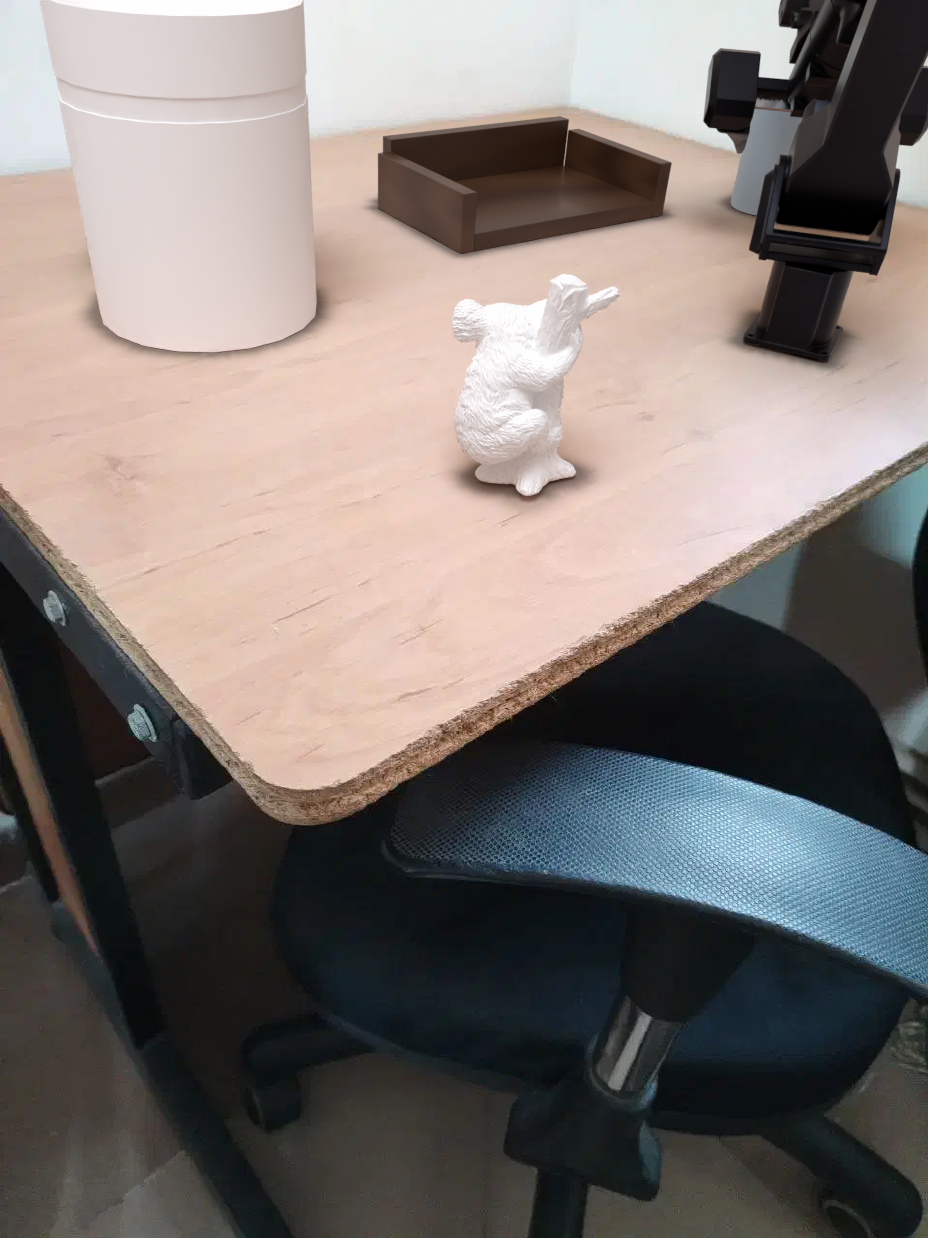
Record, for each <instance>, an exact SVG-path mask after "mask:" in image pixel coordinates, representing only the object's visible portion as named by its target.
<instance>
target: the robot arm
mask: <svg viewBox="0 0 928 1238" xmlns="http://www.w3.org/2000/svg"><path fill="white" fill-rule="evenodd" d="M777 13H778V27H779V28H787V29H792V30H797V31H796V36H795V38H794V41H793V43H792V46H791V48H790V50H789V58H788V64H791V65H793V68H792V70H791V71H790V74H789V77H788V79H787V78H775V77H766V76H765V77H764V76H760V68H761V59H762V58H761V57H762V54H761V52H760V51H759V50H746V49H736V48H723V47H720V48H719V49H718V50H717V51H716V52H714V54H713V55H712V57H711V59H710V63H709V64H708V65H709V66H708V70H707V79H706V81H707V82H706V91H705V99H704V110H703V117H702V118H703V119H702V122H703V123H704V124H705V126H706V127H707V128H708V129H716V131H717V132H718V133H720V134H724V135H725V134H726V135H727V136H728V137H729V138H730V140H731V141H732V142H733V146H734V148H735V152H736V154H739V155H741V154H742V152H743V151H744V149H745V146H746V143H747V140H748V136H749V133H750V123H751V121H752V118H753V114H754V109H760V110H771V111H783V112H790V117H800V118H802V121H801V123H800V124H799V125H798V128H797V130H796V133H795V136H794V139H793V141H792V144H791V147H790V150H789V153H788V155H781V154H780V155H779V157H778V160H777V164H774V167H773V170H771V171H770V172H769V173H767V174H766V175H765V176H764V180H763V185H762V190H761V195H760V200H759V205H758V210H757V215H755V221H754V224H753V229H752V233H751V238H750V242H749V246H748V251H750V252H752V253H754V254H755V255H758V257H757V260H759V261H766V260H767V261H773V263H772V267H771V270H770V273H769V278H768V282H767V286H766V289H765V293H764V297H763V301H762V305H761V308H760V311H759V312H758V313H757V315H756V317H754V320H752V322H751V324H750V325H749V327H748V328H747V330H746V331H745V332H744V334H743V337H742V341H743V342H744V343H747V344H751V345H755V346H760V347H764V348H767V349H772V350H776V351H780V352H781V351H782V352H784V353H789V354H793V355H797V356H801V357H805V358H809V359H814V360H817V361H823V362H827V361H829V360H830V359H831V357H832V355H833V353H834V350H835V348H836V346H837V344H838V342H839V340H840V338H841V336H842V334H843V331H844V327H843V326H841V325H838V322H839V320H840V315H841V313H842V309H843V306H844V303H845V300H846V297H847V293H848V291H849V287H850V284H851V281H852V278H853V275H854V272H856V273H864V274H868V275H869V276H877V277H878V274H879V272H880V270H881V268H882V265H883V263H884V260H885V258H886V255H887V252H888V249H889V243H890V236H891V231H892V226H893V221H894V215H895V209H896V203H897V197H898V194H899V193H898V192H899V188H900V182H901V181H900V180H901V169H900V168H897V163H898V156H899V149H900V146H904V147H905V146H906V147H913V146H914V145H916V144H917V143H919V142H920V141H921V139H922V138H923V136H924V135H925V134H926V132H927V130H928V65H925V64H926V61H927V59H928V0H780V2H779V6H778V11H777ZM775 225H777V226H781V227H782V226H783V227H790V228H798V229H805V230H813V231H820V232H821V231H822V232H827V233H834V234H835V233H837V234H845V235H850V236H851V235H852V236H859V237H868V239H867V240H866V239H865V240H864V239H857V238H848V237H843V236H842V237H840V236H833V235H825V234H817V233H811V232H803V231H796V230H795V231H794V230H787V229H782V228H781V229H780V228H775V227H776V226H775Z"/></svg>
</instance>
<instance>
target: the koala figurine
mask: <svg viewBox="0 0 928 1238" xmlns="http://www.w3.org/2000/svg"><path fill="white" fill-rule="evenodd" d="M547 290H548V293H547V298H544V299H542V300H538V301H536V302H534V303H531V304H529V305H523V304H517V303H510V302H506V301H504V302H494V303H490V304H486V305H485V306H483V305H482V304H481V303H479V302H477V300H475V299H471V298H464V299H463V300H460V301H458V302H457V304H456V305H455V306H454V308H453V312H452V317H451V323H452V324H451V327H452V329H451V330H452V334H453V336H454V338H455V339H456V341H458V342H459V343H462V344H463V343H464V344H466V343H470V342H475V346H474V348H475V353H474V355H473V357H472V358H471V360H470V362H471V363H470V365H469V366H468V367H467V368H466V370H465V375H464V379H463V383H462V385H461V388H460V394H459V396H458V398H457V399H458V400H457V405H456V408H455V411H454V420H453V425H454V432H455V435H456V439H457V443H458V445H459V446H460V448H461V450H462V451H463V453H464V454H465V455H466V457H467V458H469V459H471V460H472V461H473V462H476V463H478V464H480V465H479V466H478V467H477V468H476V469H475V471H474V475H475V477H476V478H477V479H478V481H480V482H485V483H489V484H501V485H502V484H503V485H514V486H515V489H516V491H517V492H518V493H519V494H520V495H522V496H525V497H529V496H534V495H537V494H539V493H540V491H541V490H542V489H543V487H545V486H546V485H547V484H548V483H549V482H553V481H558V480H560V479H561V480H562V479H566V478H567V479H568V478H573V477H574V476H575V475H576V474H577V470H576V468H575V466H574V465H573V464H572V463H571V462H570V461H567V460H565V459H563V458H562V457H561V456H560V455H559V454H558V447H559V446H560V442H561V441H562V439H563V434H562V428H563V427H562V426H561V425H562V418H561V411H562V408H561V406H562V404H563V399H564V389H565V379H564V378H565V377H566V376H567V375H568V373H569V372H570V371H571V370H572V369H573V366H574V365H575V363H576V361H577V360H578V358H579V355H580V353H581V351H582V349H583V343H584V332H583V329H582V325H581V322H583V321H584V320H586V319H590V318H591V317H592V316H593V315H595V314H596V313H598V312H599V311H602V310H605V309H607V308H608V307H609V306H610V305H611V304H613V303H614V302H616V301H617V299H618V298H619V297H621V293H620V289H619V288H618V287H617V286H615V285H612V286H609V287H607V288H604V289H601V290H599V291H597V292H596V293H592V294H588V292H589V288H588V285H587V283H586V282H584V281H582V279H580V278H579V277H577V276H575V275H574V274H569V273H561V274H559V275H557V276H555V277H554V278H551V279H549V283H548V289H547Z"/></svg>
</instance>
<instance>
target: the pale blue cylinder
mask: <svg viewBox="0 0 928 1238" xmlns="http://www.w3.org/2000/svg"><path fill="white" fill-rule="evenodd" d="M801 121H802V118H800V117H790V112H783V111H771V110H760V109H754V114H753V118H752V121H751V123H750V133H749V136H748V140H747V143H746V146H745V149H744V151H743V152H742V153H741V154H740V159H739V163H738V168H737V173H736V176H735V181H734V186H733V189H732V194H731V199H730V206H731V207H732V208H734V209H735V210H737V211H739V212H742V213H745V214H748V215H753V216H756V215H757V210H758V205H759V200H760V195H761V190H762V185H763V180H764V176H765V175H766V174H767V173H769V172H770V171H771V170H773V167H774V164H777V160H778V157H779V155H780V154H781V155H788V153H789V150H790V147H791V144H792V141H793V139H794V136H795V133H796V130H797V128H798V125H799V124H800V123H801Z"/></svg>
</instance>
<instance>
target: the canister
mask: <svg viewBox="0 0 928 1238" xmlns="http://www.w3.org/2000/svg"><path fill="white" fill-rule="evenodd" d="M39 3H40V5H39V6H40V9H41V10H40V11H41V14H42V21H43V25H44V31H45V35H46V40H47V45H48V46H47V47H48V51H49V56H50V61H51V66H52V70H53V72H54V76H55V78H56V83H57V88H58V91H57V97H58V102H59V108H60V114H61V118H62V123H63V128H64V134H65V139H66V145H67V149H68V153H69V159H70V164H71V170H72V174H73V179H74V185H75V186H74V187H75V190H76V195H77V201H78V206H79V211H80V216H81V221H82V227H83V232H84V236H85V237H84V238H85V242H86V247H87V252H88V258H89V262H90V268H91V273H92V278H93V284H94V289H95V293H96V298H97V303H98V308H99V313H100V317H101V320H102V324H103V326H105V327H106V328H107V329H108V330H110V331H111V332H112V333H114V334H115V335H116V336H118V337H119V338H122V339H125V340H127V341H130V342H133V343H135V344H138V345H140V346H143V347H149V348H154V349H161V350H166V351H173V352H184V353H185V352H186V353H188V352H189V353H220V352H221V353H222V352H229V351H236V350H238V351H239V350H247V349H254V348H257V347H261V346H265V345H268V344H272V343H276V342H280V341H282V340H284V339H286V338H288V337H290V336H292V335H295V334H296V333H299V332H300V331H302V330H304V329H305V328H306V327H307V326H308V325H309V324H310V323H311V322H312V321H313V320H314V318H315V317H316V314H317V307H318V306H317V304H318V298H317V279H316V256H315V254H316V253H315V232H314V231H315V229H314V210H313V207H314V205H313V186H312V185H313V184H312V161H311V141H310V118H309V96H308V93H307V85H306V81H307V79H306V76H307V73H308V72H307V71H308V70H307V47H306V25H305V3H304V0H39Z"/></svg>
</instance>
